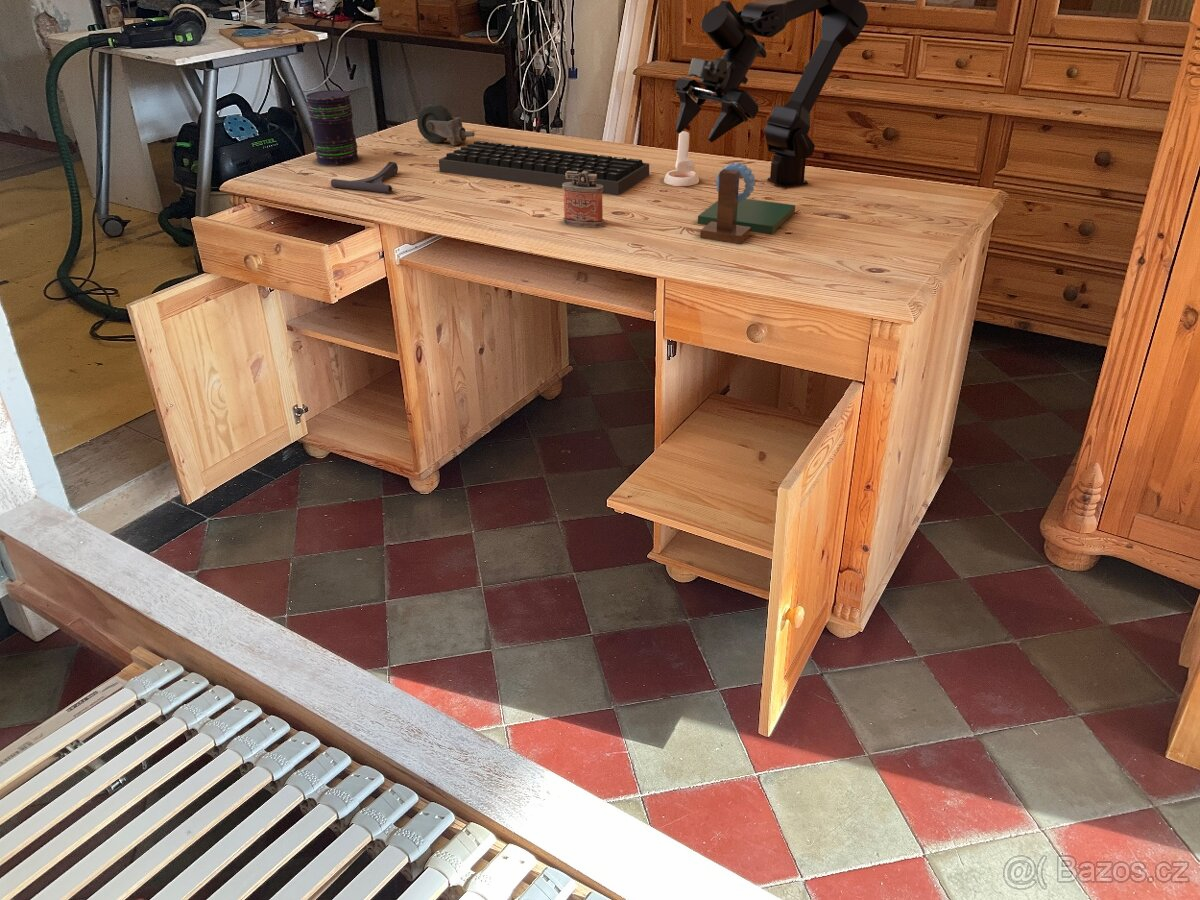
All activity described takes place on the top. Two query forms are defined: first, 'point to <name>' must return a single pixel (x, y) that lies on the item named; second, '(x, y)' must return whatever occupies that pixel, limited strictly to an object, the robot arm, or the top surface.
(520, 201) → the top surface
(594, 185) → the lighter
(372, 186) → the dark grey branched pipe
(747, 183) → the blue fluted ring
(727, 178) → the peg stand
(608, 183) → the computer keyboard
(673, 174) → the white piece
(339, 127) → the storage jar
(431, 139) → the caster wheel
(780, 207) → the cutting board
